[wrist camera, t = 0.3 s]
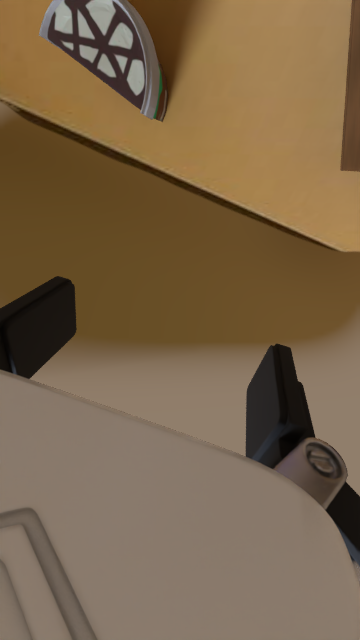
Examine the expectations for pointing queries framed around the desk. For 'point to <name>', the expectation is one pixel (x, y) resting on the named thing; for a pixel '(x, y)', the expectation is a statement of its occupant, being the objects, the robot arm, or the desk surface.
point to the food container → (110, 48)
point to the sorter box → (352, 97)
